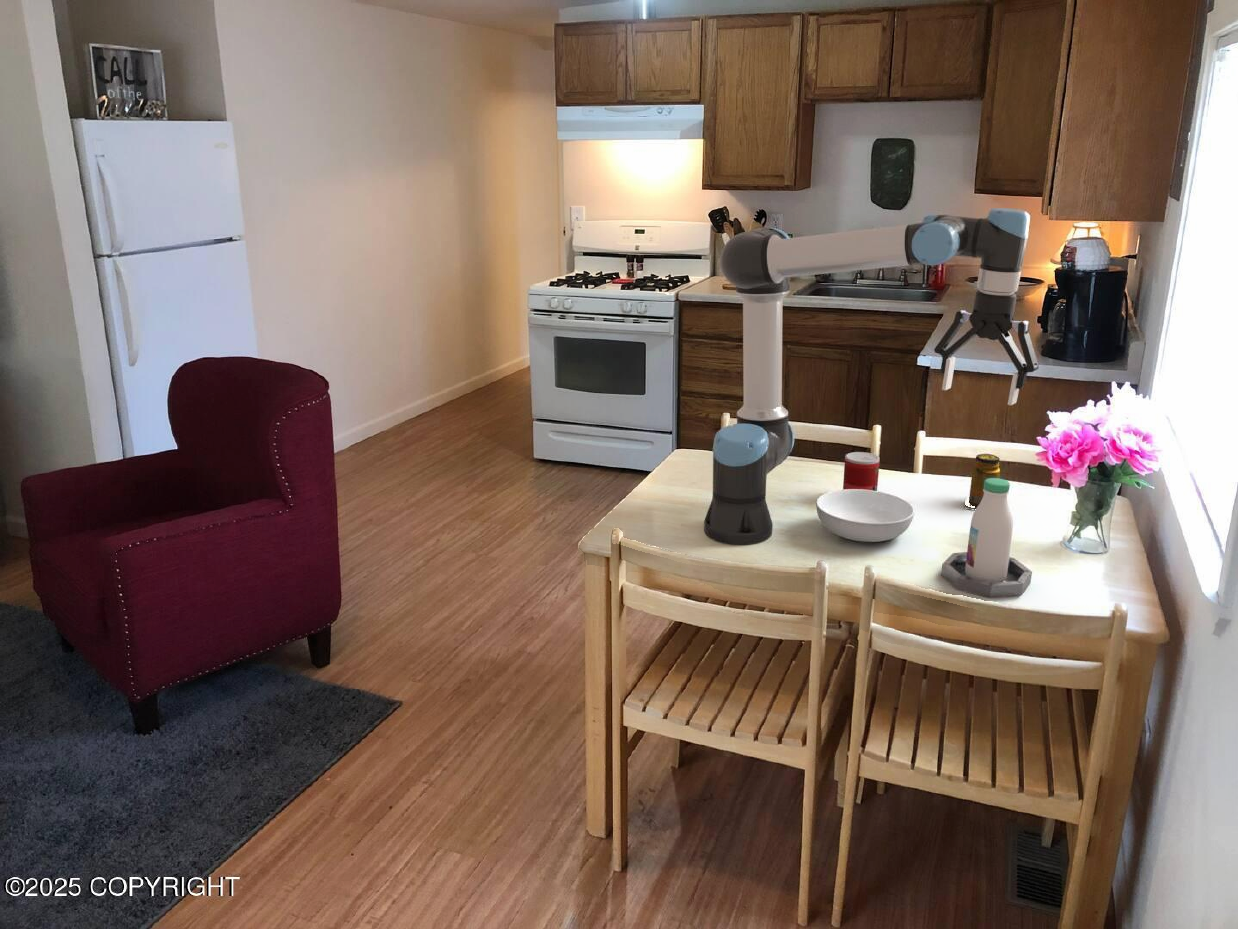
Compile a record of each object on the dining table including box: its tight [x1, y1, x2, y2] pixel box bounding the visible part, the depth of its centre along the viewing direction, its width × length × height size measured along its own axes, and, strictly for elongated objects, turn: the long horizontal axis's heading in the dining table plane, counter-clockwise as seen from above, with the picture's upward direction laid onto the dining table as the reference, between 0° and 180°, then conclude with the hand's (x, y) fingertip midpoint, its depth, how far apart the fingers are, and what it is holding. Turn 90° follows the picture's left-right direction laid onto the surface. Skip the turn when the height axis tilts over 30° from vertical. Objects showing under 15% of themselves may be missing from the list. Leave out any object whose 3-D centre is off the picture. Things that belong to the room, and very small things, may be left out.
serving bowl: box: [815, 489, 915, 543], centre depth 210 cm, size 21×21×7 cm
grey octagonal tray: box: [940, 551, 1033, 599], centre depth 189 cm, size 15×15×2 cm
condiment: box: [963, 453, 1001, 510], centre depth 225 cm, size 7×8×12 cm
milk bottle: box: [965, 477, 1014, 583], centre depth 186 cm, size 8×8×20 cm
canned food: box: [842, 451, 880, 491], centre depth 229 cm, size 8×8×11 cm
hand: (978, 396), depth 193 cm, fingers open, 13 cm apart
